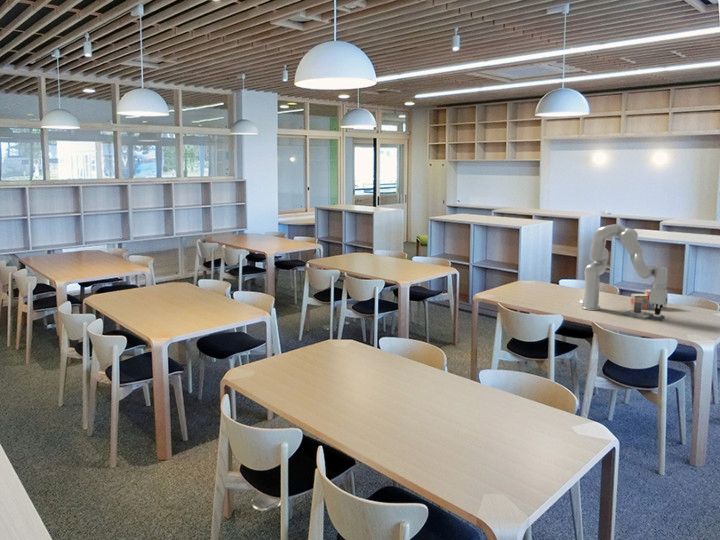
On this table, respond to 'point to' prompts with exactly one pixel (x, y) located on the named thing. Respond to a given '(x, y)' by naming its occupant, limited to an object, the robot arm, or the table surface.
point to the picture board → (637, 314)
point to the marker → (637, 305)
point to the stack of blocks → (643, 300)
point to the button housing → (656, 317)
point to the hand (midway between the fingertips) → (657, 314)
